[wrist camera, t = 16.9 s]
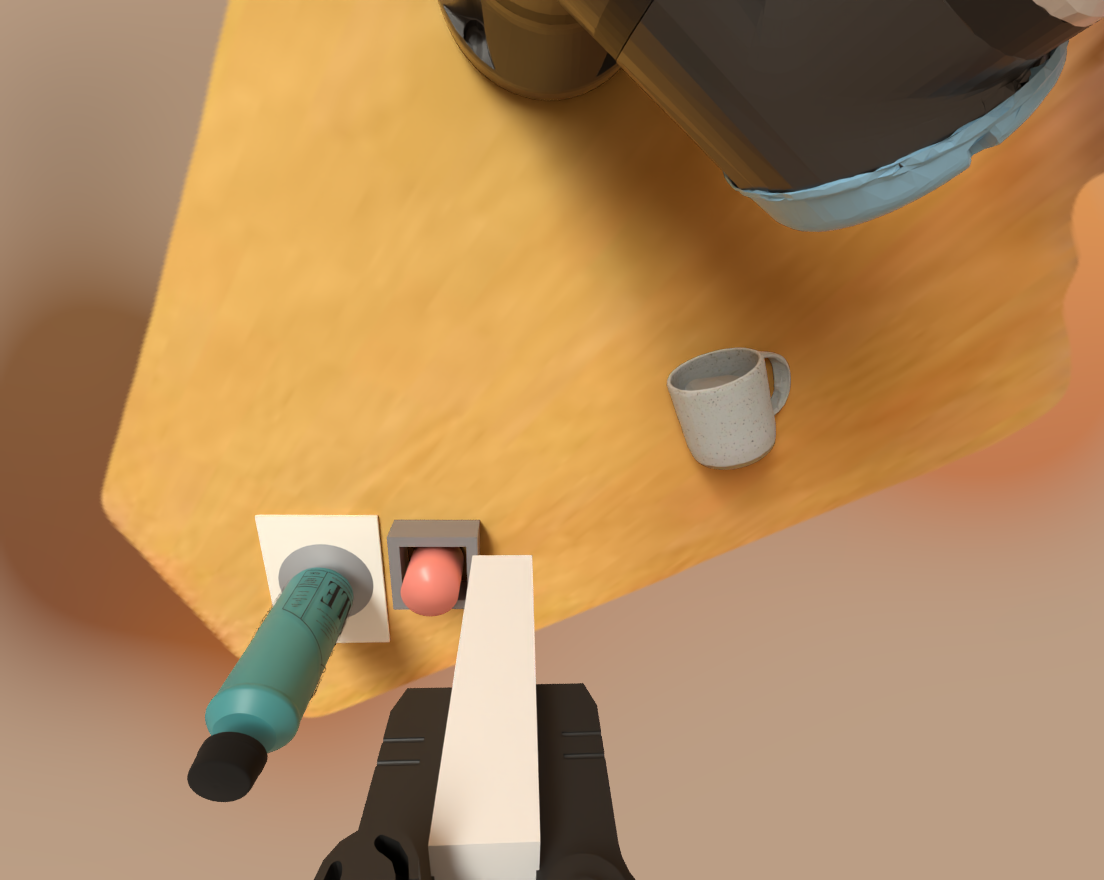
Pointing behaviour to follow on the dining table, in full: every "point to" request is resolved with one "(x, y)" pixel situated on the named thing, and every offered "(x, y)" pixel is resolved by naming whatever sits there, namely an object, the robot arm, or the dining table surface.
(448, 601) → the button
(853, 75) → the robot arm
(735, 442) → the ceramic mug
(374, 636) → the paper card
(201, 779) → the beverage bottle
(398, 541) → the button base
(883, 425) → the dining table surface
